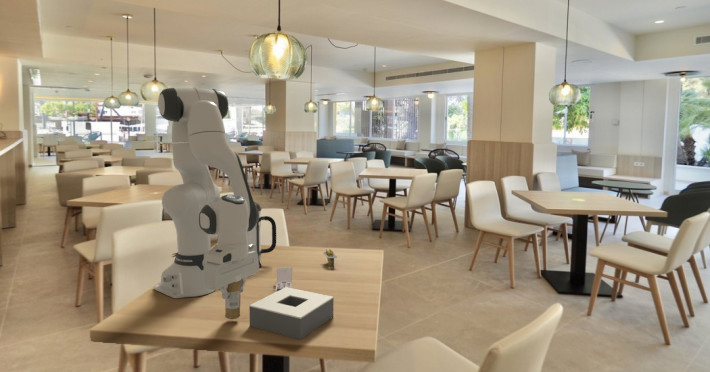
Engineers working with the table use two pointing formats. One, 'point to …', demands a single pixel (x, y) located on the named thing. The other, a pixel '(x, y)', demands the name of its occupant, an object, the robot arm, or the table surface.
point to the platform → (330, 256)
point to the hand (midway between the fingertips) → (232, 295)
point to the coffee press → (255, 235)
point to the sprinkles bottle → (233, 299)
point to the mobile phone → (284, 278)
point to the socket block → (291, 312)
